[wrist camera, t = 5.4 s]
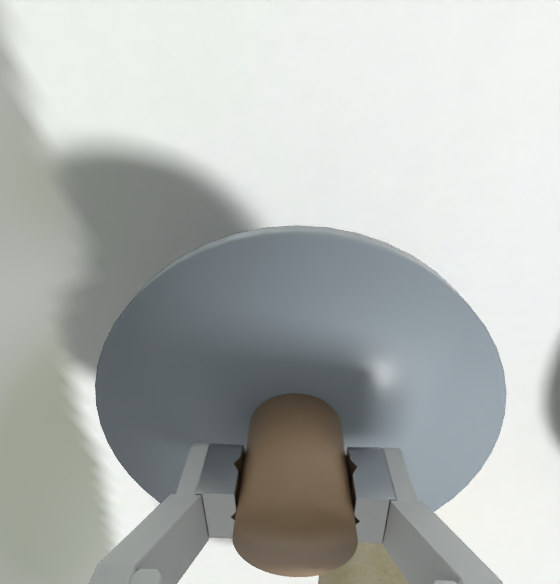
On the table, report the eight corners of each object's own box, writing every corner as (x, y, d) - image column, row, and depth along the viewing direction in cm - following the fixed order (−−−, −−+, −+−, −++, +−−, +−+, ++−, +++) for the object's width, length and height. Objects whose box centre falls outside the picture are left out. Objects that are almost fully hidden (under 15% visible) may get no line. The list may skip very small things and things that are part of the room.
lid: (64, 226, 10) (-89, 299, 6) (542, 225, 10) (718, 305, 6) (146, 516, 16) (94, 653, 12) (449, 527, 15) (503, 674, 11)
